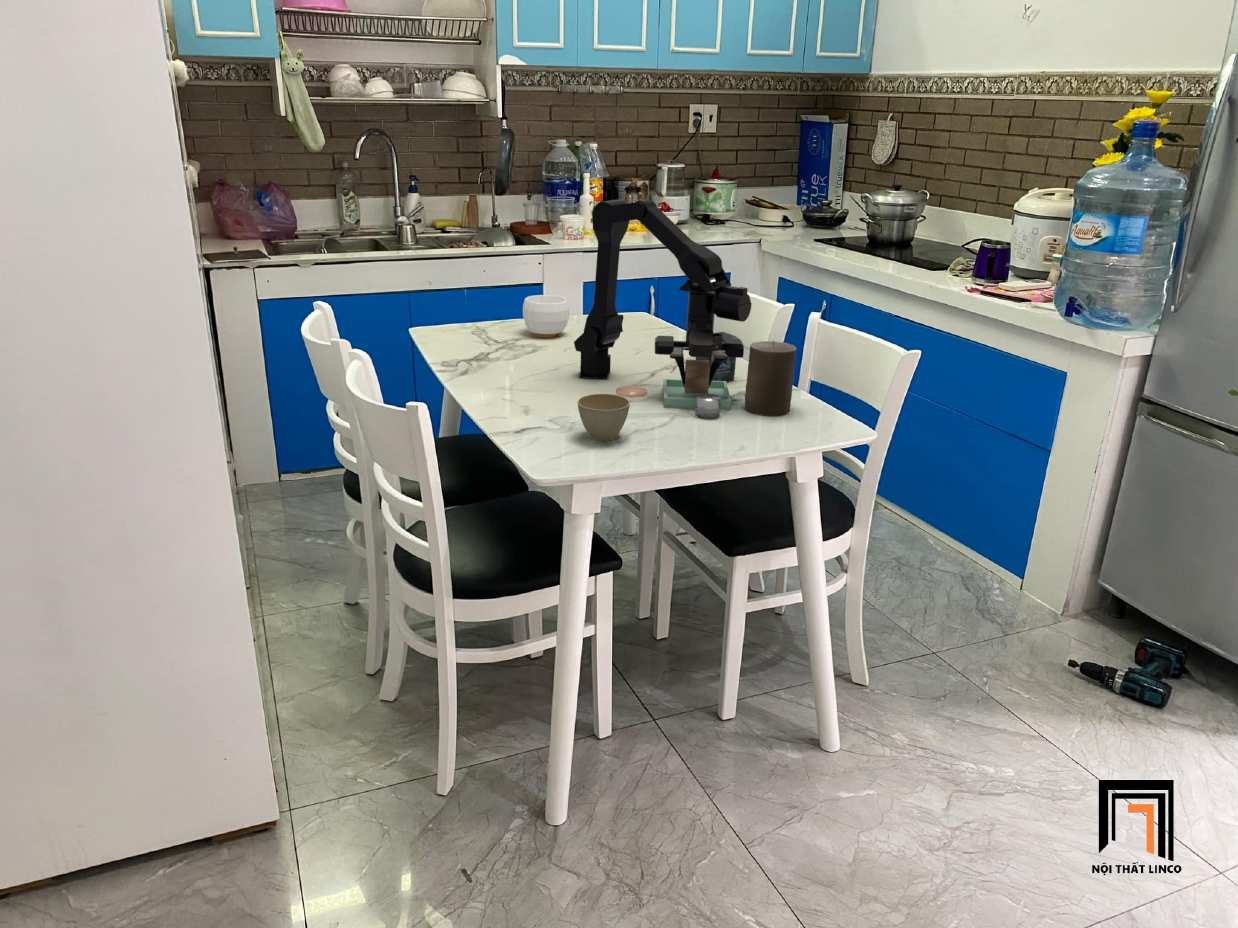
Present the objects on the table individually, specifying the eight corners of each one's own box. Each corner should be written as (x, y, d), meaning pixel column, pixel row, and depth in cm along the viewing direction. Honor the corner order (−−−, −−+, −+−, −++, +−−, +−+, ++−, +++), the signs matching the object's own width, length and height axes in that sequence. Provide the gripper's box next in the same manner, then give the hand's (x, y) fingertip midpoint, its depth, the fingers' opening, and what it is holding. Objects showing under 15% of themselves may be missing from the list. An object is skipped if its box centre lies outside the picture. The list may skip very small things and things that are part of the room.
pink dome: (615, 398, 204) (615, 394, 204) (616, 388, 211) (616, 385, 210) (647, 399, 204) (647, 395, 204) (647, 389, 211) (647, 386, 210)
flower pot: (575, 427, 185) (576, 393, 182) (626, 427, 185) (627, 393, 183) (578, 446, 175) (578, 409, 173) (631, 445, 176) (632, 409, 174)
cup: (567, 341, 246) (567, 305, 243) (520, 340, 246) (520, 303, 243) (570, 330, 258) (570, 295, 254) (525, 328, 258) (525, 293, 254)
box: (708, 385, 214) (711, 340, 210) (693, 379, 218) (696, 334, 214) (735, 380, 218) (738, 336, 214) (719, 374, 222) (723, 330, 218)
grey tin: (696, 419, 192) (697, 400, 190) (695, 411, 196) (696, 393, 195) (720, 420, 192) (721, 401, 190) (718, 412, 196) (720, 394, 195)
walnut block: (684, 392, 201) (686, 365, 199) (684, 386, 206) (685, 359, 203) (708, 393, 201) (710, 366, 199) (706, 386, 206) (708, 360, 203)
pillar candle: (780, 419, 193) (788, 348, 188) (736, 410, 197) (743, 341, 192) (796, 407, 201) (804, 339, 196) (753, 399, 205) (760, 332, 200)
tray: (663, 407, 198) (664, 398, 197) (663, 387, 211) (663, 378, 210) (730, 410, 198) (731, 400, 197) (725, 390, 210) (726, 381, 210)
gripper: (656, 321, 190) (653, 394, 196) (749, 324, 190) (742, 398, 195) (656, 309, 200) (653, 379, 206) (743, 312, 200) (738, 382, 206)
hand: (696, 385), depth 203 cm, fingers closed on walnut block, 5 cm apart
